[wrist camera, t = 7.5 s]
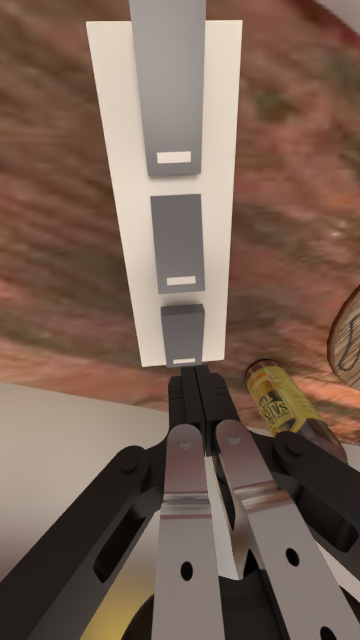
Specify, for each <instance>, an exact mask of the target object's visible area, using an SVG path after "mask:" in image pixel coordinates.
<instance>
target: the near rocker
mask: <svg viewBox="0 0 360 640" xmlns="http://www.w3.org/2000/svg"><path fill="white" fill-rule="evenodd" d="M129 4H130V14H131V23H132V32H133V42H134V51H135V60H136V69H137V79H138V88H139V97H140V107H141V116H142V125H143V135H144V144H145V153H146V162H147V172H148V176H155V175H178V174H201V158H202V123H203V88H204V53H205V18H206V0H129Z"/></svg>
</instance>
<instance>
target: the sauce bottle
mask: <svg viewBox="0 0 360 640" xmlns="http://www.w3.org/2000/svg"><path fill="white" fill-rule="evenodd" d="M246 382H247V386H248V389H249V391H250V393H251V395H252V398H253V400H254V402H255V404H256V406H257V408H258V410H259V412H260V414H261V416H262V418H263V420H264V422H265V424H266V426H267V428H268V430H269V432H270V434H271V436H272V437H273V438H275V436H276V434H277V433H279V432H281V431H292V432H295V433H297V434H299V435H301V436H303V437H304V438H306V439H307V440H309V441H311V442H312V443H314V444H315V445H317V446H319V447H320V448H322V449H323V450H325V451H327V452H328V453H330V454H331V455H333V456H335V457H336V458H338V459H339V460H341V461H343V462H344V463H346V464H347V465H348V462H347V456H346V452H345V450H344V448H343V446H342V445H341V443H340V441H339V440H338V439H337V438H336V436H335V435H334V434H333V433H332V431H331V430H330V429H329V428H328V425H327V423H326V422H325V421H324V420H323V418H322V417H321V416H320V414H319V413H318V412H317V411H316V409H315V408H314V407H313V406H312V404H311V403H310V402H309V401H308V399H307V398H306V397H305V395H304V394H303V393H302V392H301V390H300V389H299V388H298V386H297V385H296V384H295V383H294V381H293V380H292V379H291V378H290V376H289V375H288V374H287V372H286V371H285V370H284V369H282V368H281V366H280V365H279V364H278V363H276V362H274V361H271V360H263V361H259V362H257V363H256V364H254V365H253V366H251V367H250V368H249V370H248V371H247V373H246Z"/></svg>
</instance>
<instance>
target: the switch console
mask: <svg viewBox="0 0 360 640" xmlns="http://www.w3.org/2000/svg"><path fill="white" fill-rule="evenodd" d="M86 26H87V33H88V39H89V45H90V51H91V57H92V63H93V69H94V75H95V81H96V88H97V94H98V100H99V106H100V112H101V118H102V124H103V130H104V136H105V142H106V149H107V155H108V161H109V167H110V173H111V179H112V185H113V191H114V197H115V204H116V210H117V216H118V222H119V228H120V234H121V240H122V246H123V252H124V258H125V265H126V271H127V277H128V283H129V289H130V295H131V301H132V307H133V313H134V319H135V326H136V332H137V338H138V344H139V350H140V356H141V362H142V367H145V366H157V365H166V357H165V348H164V340H163V331H162V323H161V307H163V306H176V305H190V304H203V307H204V310H205V322H204V337H203V352H202V362H203V361H214V360H224V348H225V330H226V312H227V293H228V275H229V257H230V238H231V220H232V202H233V183H234V165H235V146H236V128H237V110H238V91H239V73H240V55H241V36H242V20H215V21H205V53H204V88H203V123H202V158H201V174H178V175H155V176H148V172H147V162H146V153H145V144H144V135H143V125H142V116H141V107H140V97H139V88H138V79H137V69H136V60H135V51H134V42H133V32H132V23H131V21H99V22H86ZM184 194H201V206H202V229H203V252H204V274H205V291H198V292H183V293H169V294H158V283H157V271H156V260H155V248H154V237H153V225H152V214H151V202H150V196H164V195H184Z"/></svg>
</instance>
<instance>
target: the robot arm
mask: <svg viewBox="0 0 360 640" xmlns="http://www.w3.org/2000/svg"><path fill="white" fill-rule="evenodd" d="M180 369H181V376H175V377H171V379H170V381H169V383H168V395H169V431H168V434H167V436H166V437H165V438H164V440H163V441H162V442H160V443H159V444H157V445H155V446H153V447H151V448H149V449H147V450H145V449H144V448H142V447H140V446H135V445H134V446H128V447H126V448H124V449H122V450H121V451H120V452H119V453H117V454H116V456H115V457H114V458H113V459H112V460H111V461H110V462H109V463H108V464H107V466H106V467H105V468H104V469H103V470H102V471H101V472H100V473H99V474H98V476H97V477H96V478H95V479H94V480H93V481H92V482H91V483H90V484H89V486H88V487H87V488H86V489H85V490H84V491H83V492H82V493H81V494H80V495H79V497H78V498H77V499H76V500H75V501H74V502H73V503H72V504H71V505H70V506H69V507H68V509H67V510H66V511H65V512H64V513H63V514H62V515H61V516H60V517H59V518H58V520H57V521H56V522H55V523H54V524H53V525H52V526H51V527H50V528H49V530H48V531H47V532H46V533H45V534H44V535H43V536H42V537H41V538H40V539H39V541H38V542H37V543H36V544H35V545H34V546H33V547H32V548H31V549H30V550H29V552H28V553H27V554H26V555H25V556H24V557H23V558H22V559H21V560H20V562H19V563H18V564H17V565H16V566H15V567H14V568H13V569H12V570H11V571H10V573H9V574H8V575H7V576H6V577H5V578H4V579H3V580H2V581H1V583H0V640H79V639H80V637H81V636H82V634H83V632H84V631H85V629H86V627H87V625H88V624H89V622H90V620H91V618H92V617H93V615H94V614H95V612H96V610H97V609H98V607H99V605H100V603H101V602H102V600H103V599H104V597H105V595H106V594H107V592H108V590H109V588H110V587H111V585H112V584H113V582H114V580H115V579H116V577H117V575H118V573H119V572H120V570H121V569H122V567H123V565H124V563H125V562H126V560H127V558H128V557H129V555H130V553H131V552H132V550H133V548H134V547H135V545H136V543H137V542H138V540H139V538H140V537H141V535H142V533H143V532H144V530H145V528H146V527H147V525H148V523H149V522H150V520H151V518H152V516H153V515H154V513H155V512H156V511H158V510H160V509H161V512H160V526H159V540H158V554H157V567H156V582H155V593H154V594H153V595H151V596H150V597H149V598H148V599H147V600H146V602H145V603H144V604H143V605H142V606H141V607H140V609H139V610H138V611H137V613H136V614H135V616H134V617H133V619H132V620H131V622H130V624H129V625H128V627H127V629H126V630H125V633H124V635H123V636H122V639H121V640H360V603H359V602H358V601H357V600H356V599H355V598H354V597H353V596H352V595H351V594H349V593H348V592H347V591H346V590H345V589H344V588H342V587H341V586H340V585H338V583H337V581H336V579H335V578H334V576H333V574H332V572H331V570H330V568H329V566H328V565H327V563H326V561H325V559H324V557H323V555H322V553H321V551H320V550H319V548H318V546H317V544H316V542H315V541H317V542H318V543H319V544H320V545H321V546H322V547H323V548H324V549H325V550H326V551H327V552H329V553H330V554H331V555H332V556H333V557H334V558H335V559H336V560H337V561H339V563H341V564H342V565H343V566H344V567H345V568H346V569H347V570H348V571H349V572H350V573H351V574H352V575H354V576H355V577H356V578H357V579H358V580H359V581H360V472H358V471H357V470H355V469H354V468H352V467H350V466H349V465H347V464H346V463H344V462H343V461H341V460H339V459H338V458H336V457H335V456H333V455H331V454H330V453H328V452H327V451H325V450H323V449H322V448H320V447H319V446H317V445H315V444H314V443H312V442H311V441H309V440H307V439H306V438H304V437H303V436H301V435H299V434H297V433H295V432H292V431H281V432H279V433H277V434H276V436H275V438H273V437H268V436H264V435H259V434H256V433H254V432H252V431H250V430H248V428H247V427H246V426H245V425H244V424H242V422H241V421H240V419H239V416H238V414H237V411H236V409H235V406H234V404H233V401H232V399H231V396H230V394H229V391H228V388H227V386H226V383H225V381H224V379H223V378H222V377H221V376H220V375H219V374H218V373H210V372H209V368H208V365H207V364H205V365H194V366H182V367H180ZM205 452H206V456H207V457H209V456H212V459H213V464H214V477H215V481H216V485H217V488H218V492H219V496H220V499H221V503H222V507H223V511H224V515H225V518H226V522H227V526H228V529H229V533H230V539H231V546H232V552H233V557H234V562H235V566H236V570H237V574H238V578H239V580H232V579H229V578H225V577H222V576H218V570H217V561H216V552H215V542H214V533H213V524H212V515H211V507H210V501H209V498H208V490H207V480H206V471H205V460H204V457H205Z"/></svg>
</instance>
